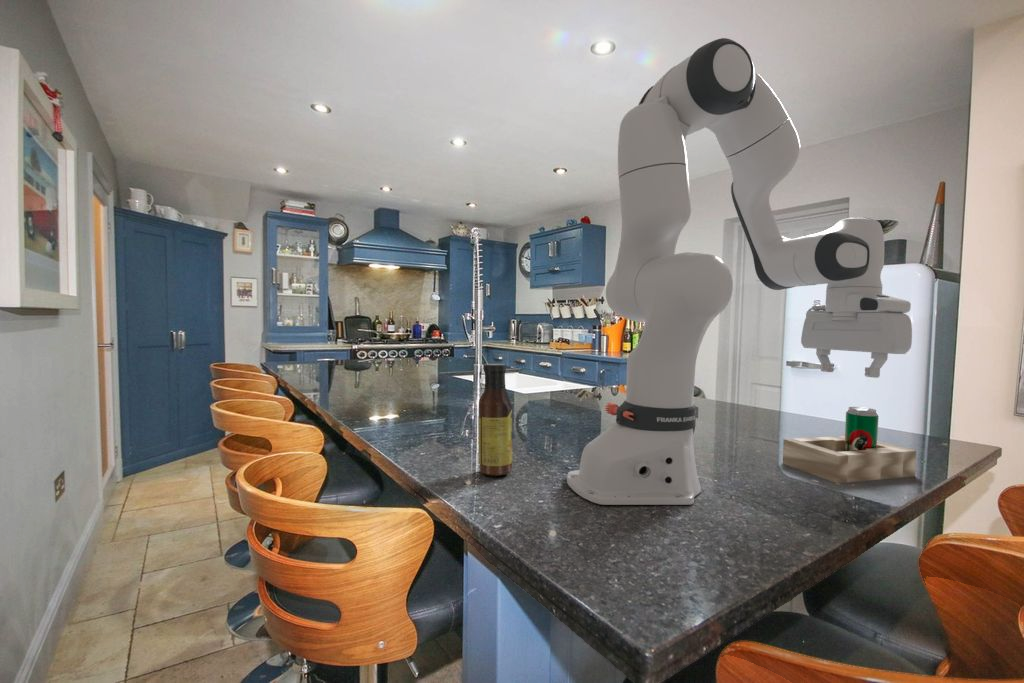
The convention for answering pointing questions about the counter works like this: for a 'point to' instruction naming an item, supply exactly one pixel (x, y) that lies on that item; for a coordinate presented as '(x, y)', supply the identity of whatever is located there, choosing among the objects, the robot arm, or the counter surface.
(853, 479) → the keyhole board
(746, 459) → the counter surface
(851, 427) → the soda can
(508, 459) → the sauce bottle
